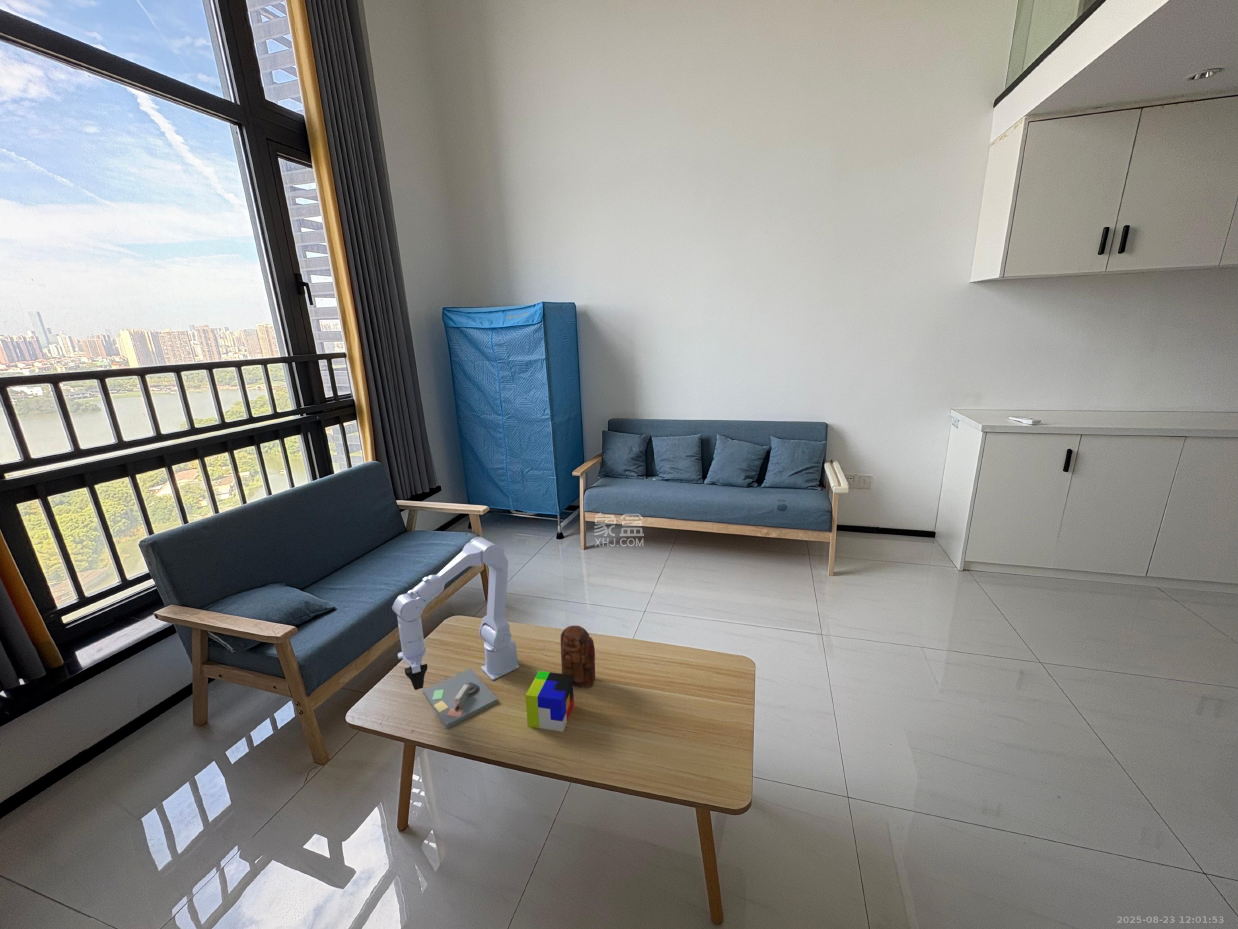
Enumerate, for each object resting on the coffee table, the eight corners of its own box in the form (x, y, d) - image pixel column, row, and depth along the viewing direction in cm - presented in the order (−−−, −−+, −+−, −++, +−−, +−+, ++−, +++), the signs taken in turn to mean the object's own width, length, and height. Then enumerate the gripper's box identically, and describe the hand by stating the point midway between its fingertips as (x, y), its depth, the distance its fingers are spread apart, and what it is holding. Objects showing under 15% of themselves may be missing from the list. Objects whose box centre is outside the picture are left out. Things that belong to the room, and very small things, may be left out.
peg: (466, 685, 147) (465, 675, 146) (479, 686, 146) (478, 677, 145) (449, 710, 137) (448, 700, 136) (462, 711, 136) (461, 702, 135)
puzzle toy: (563, 732, 130) (561, 700, 128) (527, 726, 132) (525, 695, 130) (573, 705, 140) (572, 675, 138) (540, 700, 142) (538, 670, 140)
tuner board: (471, 671, 155) (470, 668, 154) (497, 702, 141) (497, 698, 141) (423, 693, 145) (422, 689, 145) (446, 728, 132) (446, 724, 132)
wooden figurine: (555, 683, 149) (553, 631, 145) (564, 670, 155) (561, 619, 150) (592, 691, 145) (590, 637, 141) (599, 677, 151) (598, 625, 147)
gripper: (394, 627, 138) (400, 669, 141) (396, 656, 125) (403, 701, 128) (421, 620, 141) (426, 661, 144) (426, 648, 128) (432, 692, 131)
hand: (417, 679), depth 136 cm, fingers open, 7 cm apart
